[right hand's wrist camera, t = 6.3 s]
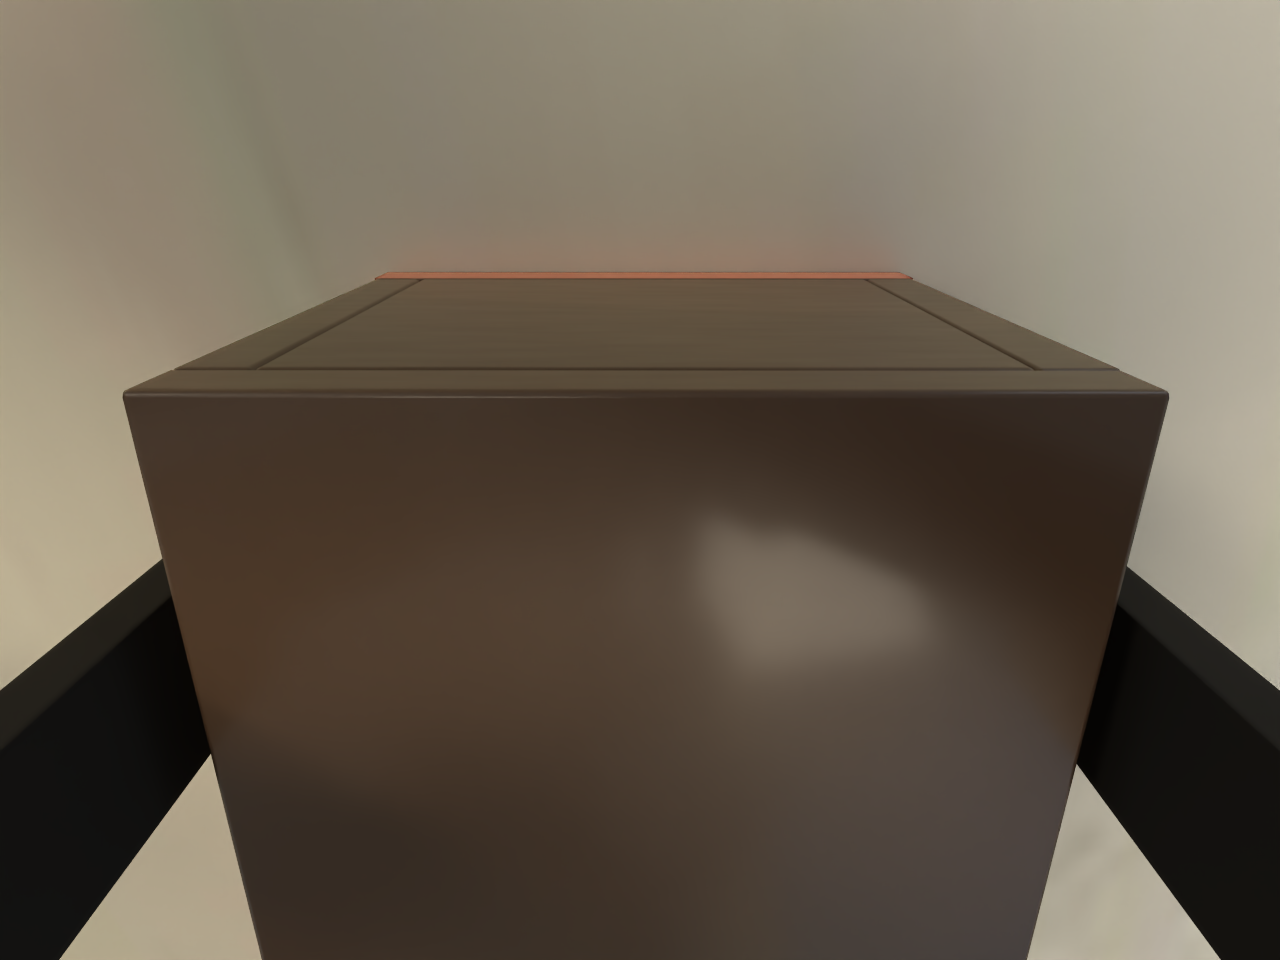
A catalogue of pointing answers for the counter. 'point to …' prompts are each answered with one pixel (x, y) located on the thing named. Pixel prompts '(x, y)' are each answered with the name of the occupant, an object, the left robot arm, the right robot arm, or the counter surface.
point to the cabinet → (645, 611)
